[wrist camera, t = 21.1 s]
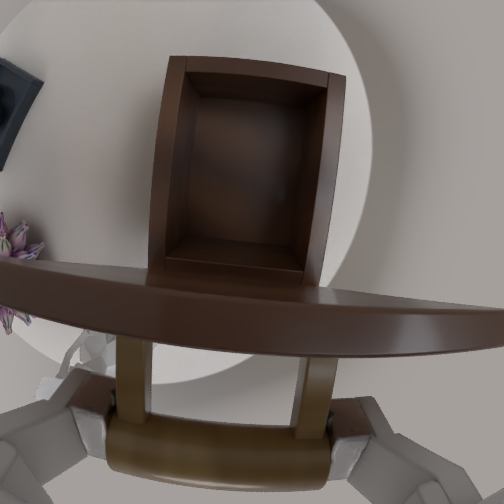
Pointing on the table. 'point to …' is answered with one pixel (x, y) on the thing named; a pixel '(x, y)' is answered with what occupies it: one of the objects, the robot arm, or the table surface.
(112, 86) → the table surface
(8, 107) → the flask
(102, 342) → the figurine
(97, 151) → the table surface
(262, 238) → the chest
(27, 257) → the flower
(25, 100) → the tray
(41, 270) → the lid
